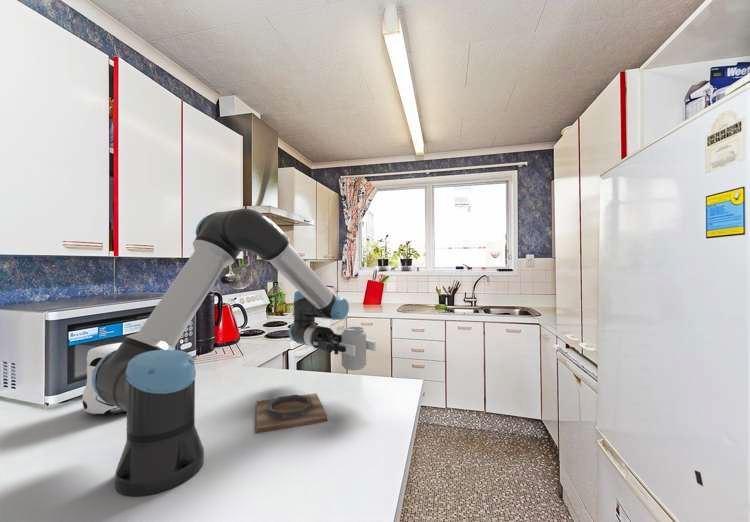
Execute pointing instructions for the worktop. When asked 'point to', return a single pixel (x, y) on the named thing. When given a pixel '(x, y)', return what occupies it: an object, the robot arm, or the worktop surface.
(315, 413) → the ring board
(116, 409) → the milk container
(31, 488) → the worktop surface
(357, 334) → the can
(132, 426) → the robot arm
